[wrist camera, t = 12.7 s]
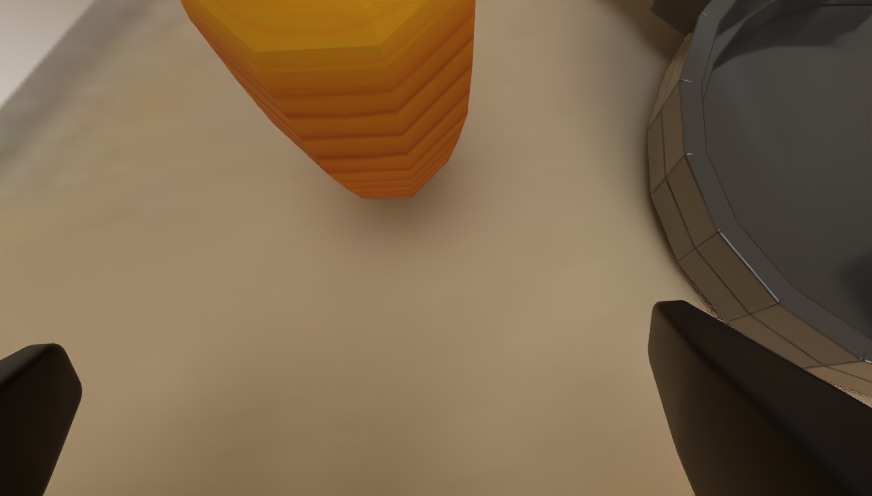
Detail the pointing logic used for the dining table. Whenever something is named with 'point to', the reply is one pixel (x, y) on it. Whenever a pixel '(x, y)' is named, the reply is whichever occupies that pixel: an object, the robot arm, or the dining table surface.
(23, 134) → the dining table surface
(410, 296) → the dining table surface
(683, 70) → the pan
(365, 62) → the carrot
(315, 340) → the dining table surface
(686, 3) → the pan handle
